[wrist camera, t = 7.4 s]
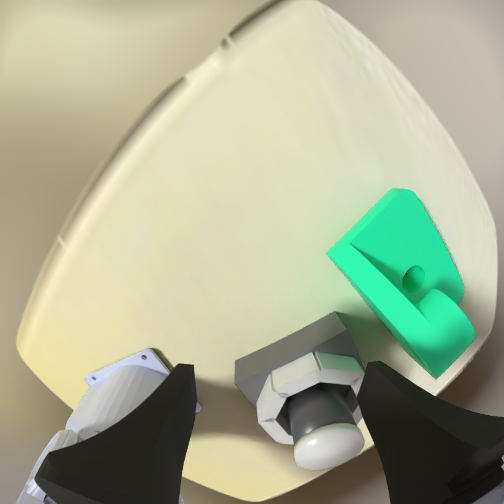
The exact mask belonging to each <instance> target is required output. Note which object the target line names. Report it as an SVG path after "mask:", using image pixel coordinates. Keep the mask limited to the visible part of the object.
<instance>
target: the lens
mask: <svg viewBox="0 0 504 504" xmlns="http://www.w3.org/2000/svg"><path fill="white" fill-rule="evenodd" d="M286 403H287V409H288V414H289V420H290V425H291V431H292V437H293V442H294V456H295V462H296V464H297V465H298V466H300V467H301V468H304V469H309V470H322V469H328V468H332V467H335V466H338V465H341V464H343V463H345V462H347V461H349V460H350V459H352V458H353V457H355V456H356V455H357V454H358V453H359V452H360V451H361V450H362V448H363V446H364V443H365V440H364V437H363V435H362V433H361V430H360V429H359V428H358V427H357V425H356V422H355V420H354V418H353V415H352V413H351V411H350V408H349V406H348V404H347V401H346V399H345V397H344V394H343V392H342V390H341V387H340V385H339V384H335V383H325V382H319V383H317V384H315V385H313V386H311V387H309V388H306V389H304V390H302V391H300V392H298V393H296V394H293V395H291V396H289V397H287V398H286Z"/></svg>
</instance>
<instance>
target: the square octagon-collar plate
mask: <svg viewBox="0 0 504 504" xmlns="http://www.w3.org/2000/svg"><path fill="white" fill-rule="evenodd" d="M364 374H365V370H364V368H363V365H362V363H361V361H360V358H359V356H358V353H357V351H356V349H355V346H354V344H353V342H352V339H351V337H350V335H349V332H348V330H347V328H346V327H345V326H344V324H343V323H342V321H341V320H340V318H339V317H338V315H337V314H336V313H335V311H334V312H332V313H331V314H329V315H327V316H325V317H323V318H321V319H320V320H318V321H316V322H314V323H312V324H310V325H308V326H306V327H304V328H303V329H301V330H299V331H297V332H295V333H293V334H291V335H289V336H287V337H285V338H283V339H281V340H279V341H277V342H275V343H273V344H270V345H268V346H266V347H264V348H262V349H260V350H258V351H256V352H253V353H251V354H249V355H247V356H245V357H242V358H240V359H238V360H236V361H235V385H236V386H237V387H238V388H239V390H240V391H241V392H242V393H243V394H244V396H245V397H246V398H247V399H248V400H249V402H250V403H251V404H252V405H253V406H254V407H255V409H256V410H257V416H258V423H259V424H260V425H261V426H262V427H263V428H264V429H265V431H266V432H267V433H268V434H269V435H270V436H271V437H272V438H273V439H274V440H275V441H276V442H279V443H281V444H294V442H293V437H292V431H291V425H290V420H289V414H288V409H287V403H286V398H287V397H289V396H291V395H293V394H296V393H298V392H300V391H302V390H304V389H306V388H309V387H311V386H313V385H315V384H317V383H319V382H325V383H335V384H339V385H340V387H341V390H342V392H343V394H344V397H345V399H346V401H347V404H348V406H349V408H350V411H351V413H352V415H353V418H354V420H355V422H356V425H357V424H358V423H359V421H360V420H361V419H362V414H361V410H360V407H359V403H358V399H357V395H358V392H359V389H360V386H361V383H362V380H363V377H364Z"/></svg>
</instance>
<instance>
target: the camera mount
mask: <svg viewBox="0 0 504 504" xmlns="http://www.w3.org/2000/svg"><path fill="white" fill-rule="evenodd" d="M326 254H327V256H328V257H329V258H330V259H331V260H332V261H333V263H334V264H335V265H336V266H337V267H338V268H339V270H340V271H341V272H342V273H343V274H344V275H345V277H346V278H347V279H348V280H349V281H350V283H351V285H352V286H353V287H354V288H355V290H356V291H357V292H358V293H359V294H360V296H361V297H362V298H363V299H364V301H365V302H366V303H367V304H368V305H369V307H370V308H371V309H372V310H373V312H374V313H375V314H376V315H377V317H378V318H379V319H380V320H381V321H382V322H383V323H384V325H385V326H386V327H387V328H388V330H389V331H390V332H391V333H392V335H393V336H394V337H395V339H396V340H397V341H398V343H399V344H400V345H401V346H402V348H403V349H404V350H405V351H406V352H407V353H408V354H409V355H410V356H411V357H412V358H413V359H414V360H415V361H416V362H417V363H418V364H419V365H421V366H422V367H423V368H424V369H425V370H426V371H427V372H428V373H429V374H430V375H431V376H432V377H433V378H435V379H437V378H438V377H439V376H440V375H442V374H443V373H444V372H445V371H446V370H447V369H448V368H449V367H450V366H451V365H452V364H453V362H454V361H455V360H456V359H457V358H458V357H459V356H460V355H461V354H462V353H463V352H464V351H465V350H466V348H467V347H468V346H469V345H470V344H471V343H472V342H473V340H474V339H475V338H476V334H475V331H474V328H473V326H472V324H471V322H470V321H469V319H468V318H467V316H466V315H465V314H464V312H463V311H462V310H461V309H460V308H459V307H458V306H457V304H458V303H459V302H460V301H461V299H462V297H463V294H464V285H463V283H462V281H461V278H460V276H459V274H458V272H457V269H456V267H455V265H454V263H453V261H452V259H451V257H450V255H449V253H448V251H447V249H446V247H445V245H444V243H443V241H442V239H441V237H440V235H439V233H438V232H437V230H436V228H435V226H434V224H433V223H432V221H431V219H430V217H429V216H428V214H427V212H426V210H425V209H424V207H423V205H422V204H421V202H420V201H419V199H418V197H417V196H416V194H415V193H414V192H413V191H411V190H409V189H397V188H395V189H391V190H390V191H389V192H388V193H387V194H386V195H385V196H384V197H383V198H382V199H381V200H380V201H379V202H378V203H377V204H376V205H375V206H374V207H373V208H372V209H371V210H370V211H369V212H368V213H367V214H366V215H365V216H364V217H363V218H362V219H361V220H360V221H359V222H358V223H357V224H356V225H355V226H354V227H353V228H352V229H351V230H349V231H348V232H347V233H346V234H345V235H344V236H343V237H342V238H341V239H340V240H339V241H338V242H337V243H336V244H335V245H334V246H333V247H332V248H331V249H330V250H329V251H328V252H326ZM408 269H409V271H408V274H407V276H406V277H405V278H404V279H403V277H404V275H405V273H406V271H407V270H408Z"/></svg>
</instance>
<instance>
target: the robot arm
mask: <svg viewBox="0 0 504 504" xmlns="http://www.w3.org/2000/svg"><path fill="white" fill-rule="evenodd" d="M143 355H145V356H146V357H144V356H143ZM84 379H85V381H86V383H87V384H88V385H89V388H88V389H87V391H86V392H85V394H84V395H83V397H82V399H81V400H80V402H79V403H78V405H77V406H76V408H75V410H74V411H73V413H72V414H71V416H70V418H69V419H68V421H67V424H66V429H65V430H60V431H59V432H58V433H57V434H56V435H55V436H54V437H53V438H52V440H51V441H50V442H49V444H48V445H47V446H46V448H45V449H44V451H43V452H42V454H41V455H40V457H39V459H38V461H37V462H36V464H35V466H34V468H33V470H32V472H31V474H30V477H29V480H28V481H27V483H26V485H25V487H24V489H23V491H22V493H21V495H20V497H19V499H18V501H17V503H16V504H184V501H183V499H182V497H181V496H180V495H179V494H180V485H181V477H182V470H183V465H184V460H185V456H186V452H187V449H188V445H189V441H190V437H191V433H192V429H193V425H194V421H195V414H196V413H197V412H200V411H201V405H200V404H199V403H198V402H197V394H196V385H195V374H194V365H191V364H180V363H179V364H177V365H176V366H175V368H174V369H173V370H172V371H171V372H170V370H169V369H168V368H167V367H166V366H165V364H164V363H163V362H162V361H161V360H160V358H159V357H158V356H157V355H156V353H155V352H154V351H153V350H152V349H149V348H147V349H144V350H142V351H140V352H138V353H136V354H133V355H131V356H129V357H127V358H124V359H122V360H120V361H118V362H115V363H113V364H111V365H109V366H106V367H104V368H102V369H99V370H97V371H95V372H92V373H90V374H88V375H86V376H85V377H84ZM357 399H358V403H359V407H360V410H361V414H362V417H363V419H364V421H365V424H366V426H367V428H368V430H369V433H370V435H371V437H372V439H373V442H374V444H375V446H376V448H377V451H378V453H379V456H380V458H381V461H382V465H383V469H384V472H385V476H386V480H387V485H388V490H389V496H390V503H391V504H504V470H503V469H502V468H501V466H502V465H503V464H504V461H503V460H502V456H503V455H504V417H497V416H490V415H485V414H480V413H476V412H472V411H469V410H466V409H463V408H460V407H458V406H455V405H453V404H450V403H448V402H446V401H444V400H442V399H439V398H438V397H436V396H434V395H432V394H430V393H429V392H427V391H425V390H424V389H422V388H420V387H419V386H417V385H416V384H414V383H413V382H411V381H410V380H408V379H407V378H405V377H404V376H402V375H401V374H399V373H398V372H397V371H395V370H394V369H392V368H391V367H389V366H388V365H386V364H385V363H383V362H381V361H376V362H368V364H367V368H366V371H365V374H364V377H363V380H362V383H361V386H360V389H359V392H358V395H357Z"/></svg>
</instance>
